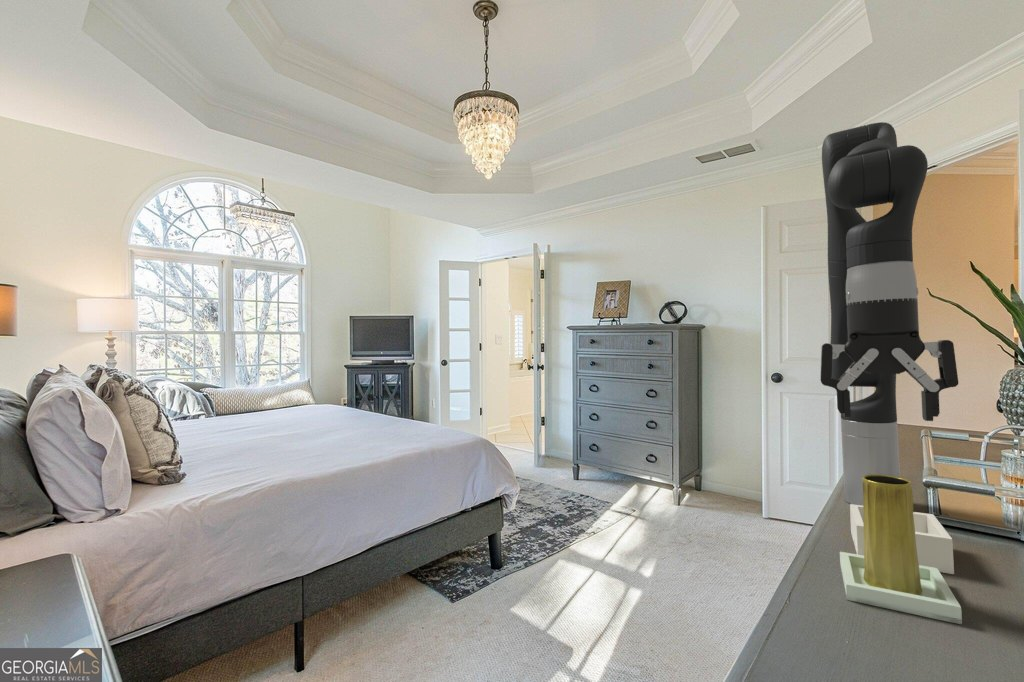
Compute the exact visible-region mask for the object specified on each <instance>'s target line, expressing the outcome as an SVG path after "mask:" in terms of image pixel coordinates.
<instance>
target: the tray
mask: <svg viewBox="0 0 1024 682" xmlns="http://www.w3.org/2000/svg"><path fill="white" fill-rule="evenodd" d="M839 566H840V570H841V576H842V582H843V586H844V591H845V596H846V600H847V601H851V602H856V603H859V604H865V605H870V606H874V607H879V608H883V609H887V610H893V611H898V612H902V613H905V614H910V615H917V616H920V617H926V618H929V619H935V620H939V621H945V622H949V623H952V624H959V625H963V618H962V617H963V616H962V614H963V613H962V607H961V605H960V603H959V601H958V599H956V597H955V594H954V593H953V592H952V590H951V588H950V587H949V584H948V583H947V581H946V580H945V579H944V577H943V575H942V574H941V572H939V570H938V569H937V568H933V567H928V566H922V565H919V571H920V581H921V587H922V593H921V594H920V595H914V594H909V593H904V592H899V591H894V590H889V589H883V588H878V587H873V586H870V585H869V584H867V583H866V582H865V580H864V570H865V562H864V556H863V555H857V553H850V552H845V551H839Z"/></svg>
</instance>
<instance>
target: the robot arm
mask: <svg viewBox="0 0 1024 682" xmlns="http://www.w3.org/2000/svg"><path fill="white" fill-rule="evenodd" d="M928 164H929V163H928V158H927V156H926V154H925V153H924V151H922V149H920V148H919V147H917V146H915V145H908V144H907V145H900V146H898V141H897V134H896V130H895V128H894V127H893V125H892V124H890V123H889V122H883V121H882V122H875V123H870V124H864V125H861V126H857V127H851V128H848V129H844V130H840V131H836V132H832V133H829V134H827V136H826V137H825V138H824V140H823V142H822V148H821V166H822V167H821V169H822V177H823V186H824V195H825V205H826V217H827V219H826V220H827V272H828V274H827V276H828V286H829V287H828V290H829V301H830V343H828V342H826V343H823V344H822V345H821V348H820V349H821V353H820V354H821V355H820V356H821V357H820V382H821V384H822V385H823V386H826V387H829V388H833V389H834V390H835V391H836V401H837V402H836V406H837V408H836V409H837V410H838V412H839V414H840V427H841V428H840V429H841V431H840V432H841V449H842V473H843V475H842V476H843V498H844V500H845V502H846V503H848V504H849V505H850V504H854V505H862V506H863V482H862V477H863V476H864V475H869V474H879V475H890V476H896V477H900V456H899V455H900V453H899V449H900V448H899V436H898V435H899V434H898V432H899V431H898V413H897V391H896V390H897V386H896V385H897V375H900V374H902V373H905V372H906V373H907V374H908V375H909V376H910V377H911V378H912V379H913V380H914V381H916V382H917V383H918V384H919V385H920V386H921V387H922V388H923V390H921V391H920V392H921V412H922V419H923V420H924V421H926V422H933V421H934V417H939V416H940V414H941V413H940V412H941V411H940V392H941V391H942V390H945V389H950V388H955V387H957V386H958V385H959V377H958V367H957V363H956V354H955V353H956V352H955V345H954V342H953V341H951V340H949V339H940V340H937V341H930V342H929V341H927V342H924V341H923V340H922V339H921V337H920V326H919V325H920V324H919V323H920V322H919V307H918V303H919V302H918V296H919V288H918V283H917V276H916V275H917V274H916V271H915V266H914V254H913V225H914V219H915V214H916V209H917V206H918V201H919V198H920V196H921V193H922V190H923V187H924V183H925V180H926V176H927V171H928V169H929V168H928V166H929V165H928ZM884 204H892V207H891V208H890V210H889V211H888V212H887V213H885V214H884V215H882V216H879V217H877V218H874V219H872V220H869V221H867V220H866V219H865V218H864V217H863V216H862V215H861V214H860V212H859V211H858V210H857V209H859V208H866V207H871V206H872V207H873V206H878V205H884ZM925 350H926V351H928V352H929V354H930V356H931V357H933V358H937V364H938V365H937V366H938V372H939V378H936V379H933V378H932V377H931V376H930V375H929V374H927V371H925V370H924V369H923V368H922V367H921V366H920V365H919V364H918V363H917V362H916V361H917V360H918V359H919V358H920V356H921V355H922V354H923V353H924V351H925ZM848 387H849V388H850V387H851V388H852V387H853V388H854V387H857V388H859V387H861V388H862V387H863V388H865V387H866V388H867V387H868V388H875V390H874V392H873V393H872V394H870V395H868V396H867V397H864V398H862V399H859V400H854V401H851V394H850V393H851V392H850V390H849V388H848ZM900 478H901V477H900Z"/></svg>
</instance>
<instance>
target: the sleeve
mask: <svg viewBox="0 0 1024 682" xmlns="http://www.w3.org/2000/svg"><path fill="white" fill-rule="evenodd" d="M849 511H850V513H849V516H850V532H851V533H850V534H851V537H852V542H853V544H854V549H855V553H856V554H857V555H863V556H864V519H863V506H862V505H854V504H850V503H849ZM913 518H914V525H915V539H916V548H917V555H918V563H919V565H922V566H928V567H933V568H937V569H938V570H939V572H940V573H944V574H948V575H955V567H954V566H955V565H954V545H953V543H954V542H953V538H952V536H950V533H948V531H947V530H946V529H945V527H944V526H943V525H942V524H941V523H940V521H939V520H938V518H937V517H936V516H935V515H934V514H933V513H925V512H917V511H913Z"/></svg>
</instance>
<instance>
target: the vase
mask: <svg viewBox="0 0 1024 682" xmlns="http://www.w3.org/2000/svg"><path fill="white" fill-rule="evenodd" d="M862 482H863V519H864V562H865V570H864V580H865V582H866V583H867V584H869V585H870V586H873V587H878V588H883V589H889V590H894V591H899V592H904V593H909V594H914V595H920V594H921V593H922V587H921V581H920V571H919V563H918V555H917V548H916V539H915V525H914V518H913V512H914V499H913V497H914V495H913V484H912V481H911V480H909V479H907V478H904V477H896V476H890V475H879V474H869V475H864V476H863V477H862Z"/></svg>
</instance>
